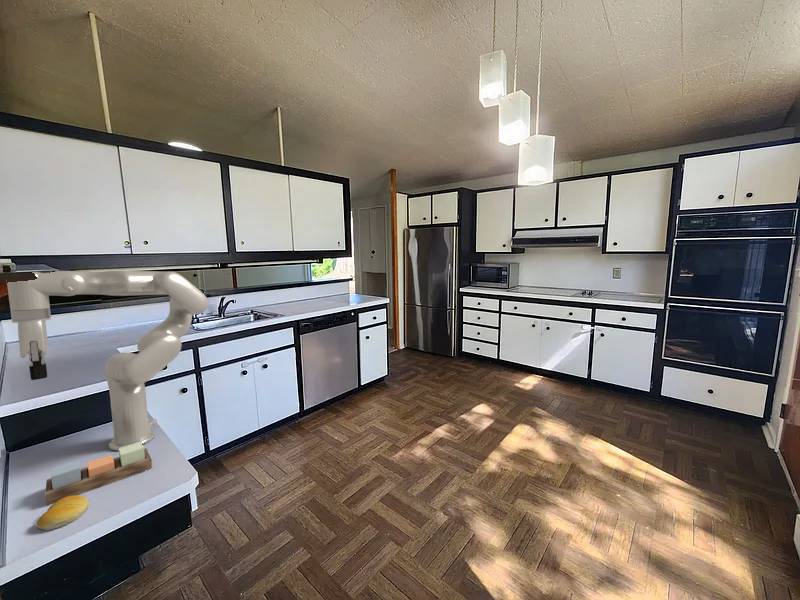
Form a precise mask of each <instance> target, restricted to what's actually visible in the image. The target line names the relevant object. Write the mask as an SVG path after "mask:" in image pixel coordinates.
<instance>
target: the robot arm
mask: <svg viewBox="0 0 800 600" xmlns="http://www.w3.org/2000/svg"><path fill="white" fill-rule="evenodd" d="M54 271H55V272H52V271H49V272H50V273H49V272H40V271H31V272H32V273H34V274H35V276H36V277H37V279H35V280H28V281H17V282H8V283H7V282H6V285H7V293H8V302H9V308H10V316H11V323H15V324H16V323H17V335H18V346H19V356H20V358H22V359H25V357H27V356H28V360H29V361H28V362H29V367H28V368H29V376H30V380H31V381H36V380H41V379H46V378H48V369H47V363H45V362H46V361H45V355H46V354H47V350H48V334H47V323H46V321H49V320H52V315H51V313H52V312H51V307H50V305H51V304H50V296H60V297H72V296H76V295H103V296H113V297H114V296H115V297H116V296H121V297H123V296H124V297H125V296H148V295H149V296H153V295H155V296H156V295H157V296H158V295H168V296H169V297H170V299H169V313H168V316H167V317H166V319H164V320H163V321H162V322H161V323H159V324H158V325H157V326H155V327H154V328H153V329H151V330H150V331H149V332H147V333H146V334H145V335H143V336H142V337H141V338H140V339H139V340H138V342H137V347H136V348H137V350H138V353H132V352H126V351H125V352H119V353H116V354H113V355H112V356H111V357H110V358H109V359H108V360H107V361H106V364H105V365H104V374H105V379H106V382H107V387H108V390H109V391H108V392H109V399H110V410H111V417H112V427H113V428H112V429H113V437H114V438H113V439H112V440H111V441H110V442H109V443H108V448H109V450H111V451H119V448H121V447H125V446H128V445H131V444H135V443H138V442H142V444H143V445H145V444H146V443H145V442H147V441H149V440H151V439H152V438H153V437H154V438H155V436H156V434H155V433H156V432H155V430H152V429H151V428H152V427H153V426H154V425H156V424H157V423H158V419H156V418H153V419H152V420H150V421H149V415H148V404H147V391H146V390H147V389H146V385H145V383H148V381H150V380H151V379H153V378H154V377H155V376H156V375H157V374H160V372H162V370H164V369H165V368H166V367H167V366H168V365H169V364H170V363H172V362H173V361H174V360H175V359H176V358H177V357H178V355H180V352H181V351H182V347H183V346H182V345H183V344H182V341H181V338H182V337H183V336H184V335H185V334H186V333H188V331H189V329H190V328H191V324H192V319H193V315H200V314H202V313H205V311H206V310H208V307H209V300H208V298H207V296H206V295H205V294H204V293H203V292H202V291H201V290H199V289H198V288H197V287H196V286H195V285H194V284H192V283H191V282H190V281H189V280H188V279H186V278H185V277H184V276H182V275H181V274H179V273H178V272H175V271H158V270H157V271H155V270H154V271H152V270H149V271H148V270H146V271H145V270H108V271H73V270H72V271H71V270H54ZM154 435H155V436H154ZM154 438H153V439H154ZM153 439H152V440H153ZM152 440H151V441H152ZM149 442H150V441H149ZM144 443H145V444H144ZM147 443H148V442H147Z"/></svg>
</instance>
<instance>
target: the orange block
mask: <svg viewBox="0 0 800 600" xmlns="http://www.w3.org/2000/svg"><path fill="white" fill-rule="evenodd" d="M113 458H114V457H113V454H110V455H107V456H104V457H101V458H97V459H94V460H90V461H87V467H88V471H89V478H90V477H93V476H96V475H99V474H102V473H105V472H108V471H111V470H114V469H115V466H114V460H113Z"/></svg>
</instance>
